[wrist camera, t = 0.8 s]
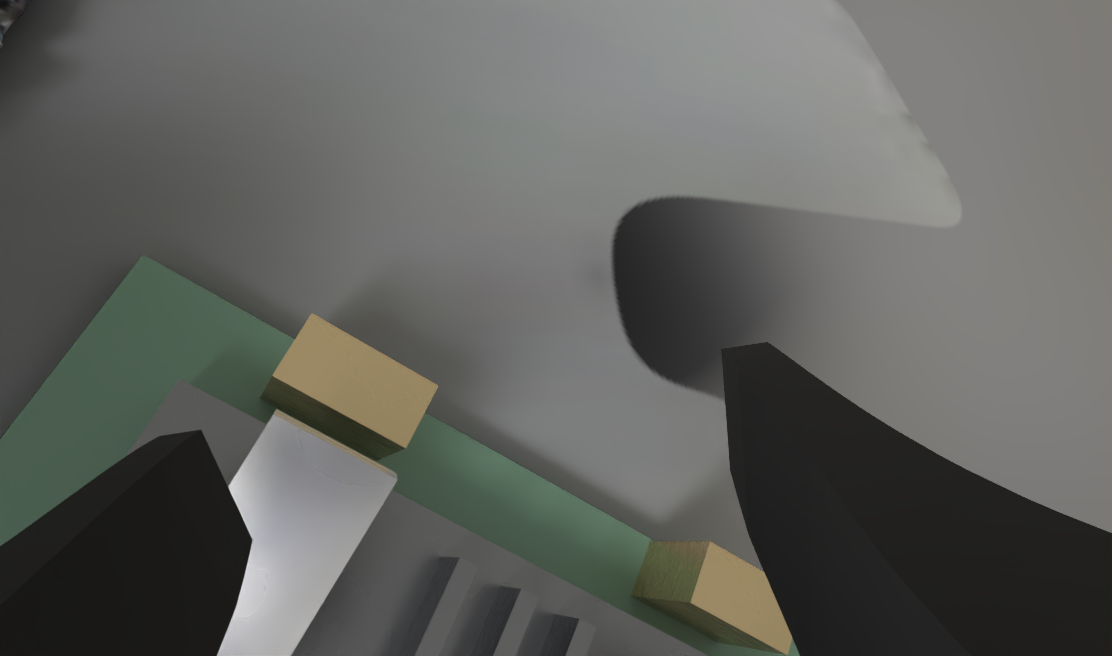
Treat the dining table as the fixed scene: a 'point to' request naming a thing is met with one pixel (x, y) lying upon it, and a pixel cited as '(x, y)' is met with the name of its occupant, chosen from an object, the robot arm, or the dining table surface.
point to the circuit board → (240, 379)
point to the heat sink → (460, 539)
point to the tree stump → (9, 14)
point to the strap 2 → (297, 530)
